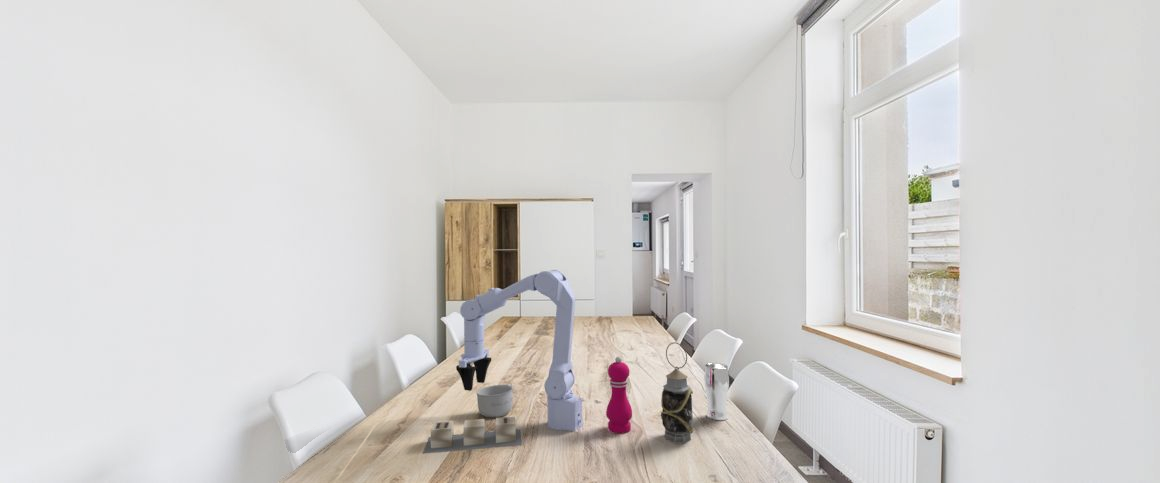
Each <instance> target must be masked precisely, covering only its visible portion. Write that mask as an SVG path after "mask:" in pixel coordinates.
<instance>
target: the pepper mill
mask: <svg viewBox="0 0 1160 483" xmlns="http://www.w3.org/2000/svg"><path fill="white" fill-rule="evenodd" d="M614 360H615V362H612V363H611V364H610V365H609V366H608V368H607V375H608V377H609V378H610V379H609V386H610V387H611V397H610V399H609V401H608V404H607V406H606V412H605V415H606V418H607V419H608V420H609V421H607V429H608V431H609V432H611V433H613V434H627V433H629V432H631V428H632V426H631V425H632V424H631V421H630V420H631V419H632V418H633V409H632V407H631V406H632V405H631V403H630V401H629V399H628V396H627V387H628V386H629V384H628V382H629V380H628V378H629V376H630V367H629V366H628V365H627V364H626V363H625V362H622V357H621V356H616V357H615V358H614Z"/></svg>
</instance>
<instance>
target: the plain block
mask: <svg viewBox="0 0 1160 483" xmlns="http://www.w3.org/2000/svg"><path fill="white" fill-rule="evenodd" d="M485 423H486V422H485V418H479V419H477V418H476V419H465V420H464V424H463V434H464V446H465V445H477V444H484V438H485V432H486V431H485V429H486V428H485V425H486V424H485Z"/></svg>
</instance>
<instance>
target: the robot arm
mask: <svg viewBox="0 0 1160 483" xmlns="http://www.w3.org/2000/svg"><path fill="white" fill-rule="evenodd" d="M527 291H533V292H536V291H538V292H539V293H540V294H542V295H543V296H545V297H547V298H549V299H550V300H551V302H552V303H554V305H556V312H555V323H554V324H555V325H554V334H553V336H554V338H553V348H552V362H551V364H550V367H549V371H548V375H547V377H546V378H547V379H546V380H545V382H544V386H543V387H544V391H545V393H546V397H547V400H546V401H547V405H546V406H547V407H546V408H547V409H546V410H547V427H548V428H550V429H552V430H558V431H571V432H576V431H577V430H578V429H580V428H581V427H583V425H584V421H583V401H582V398H581V397H578V396H575V395H574V391H573V390H572V387H573V386H574V384H575V382H576V378H575V374H574V371H573V363H572V361H571V357H572V346H573V345H572V344H573V334H574V332H573V331H574V323H575V322H574V321H575V320H574V319H575V311H576V310H575V309H576V297H575V294H574V292H573V290H572V289H571V286H570V284H569V280H568V277H567V276H566V275H565V274H564V273H562V272H561V271H560V270H557V269H552V270H549V271H548V270H543V271H540V272H539V273H536V274H532V275H528V276H526V277H524V278H521V279H520V280H518V281H517V282H514V283H512V284H511V285H508V286H507V287H506V288H503V289H502V288H499V287H490V288H489V289H488V290H487V292H484V293H482V294H481V295H480V294H477V295H475V296H474V299H467V300H465V302H462V304H461V306H460V309H459V310H460V311H459V312H460V314H461V316H462V317H463V333H464V335H463V336H464V337H463V340H464V343H463V346H464V351H463V352H464V353H462V354H460V357H461V358H460V359H459V360H458V364H457V365H456V367H455V368H456V371H457V373H458V375H459V376H460V380H461V381H462V386H463V390H464V391H469V392H470V391H473V386H474V377H476V382H477V383H478V384H479V383H481V384H483V383H485V381H486V379H487V378H486V377H487V373H488V369H489V366H490V364H491V362H492V357H489V356H490V355H489V354H490V353H489V350H490V349H485V316H486V315H488V314H489V313H491V312H493V311H495V310H497V309H499V308H503V307H504V306H506V304H507V301H508V299H511V298H513V297H516V296H519V295H520V294H523V293H525V292H527ZM471 364H473V365H471Z"/></svg>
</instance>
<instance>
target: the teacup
mask: <svg viewBox="0 0 1160 483" xmlns="http://www.w3.org/2000/svg"><path fill="white" fill-rule="evenodd" d="M513 392H514V386H513V385H512V384H510V383H506V384H495V385H488V386H484V387H482V388H479V389H478V390H476V397H477V398H476V399H477V409H478V413H479V414H480V415H482V416H483V417H486V418H492V419H493V418H495V419H496V418H502V417H506V416H507V415H509V413H510V412H511V411H512V409H513V405H514V396H513Z"/></svg>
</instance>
